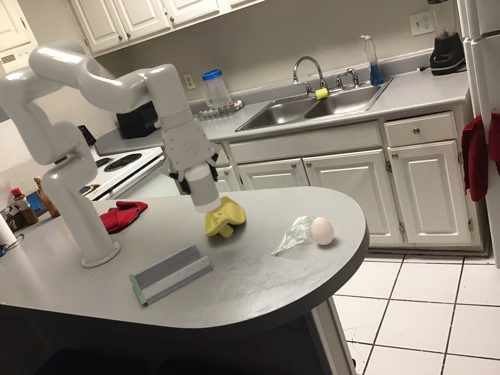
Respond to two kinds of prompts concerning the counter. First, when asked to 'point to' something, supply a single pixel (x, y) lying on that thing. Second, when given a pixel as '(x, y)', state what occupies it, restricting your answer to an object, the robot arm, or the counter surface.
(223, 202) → the plastic component
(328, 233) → the egg
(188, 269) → the rail cradle
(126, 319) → the counter surface
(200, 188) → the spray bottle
